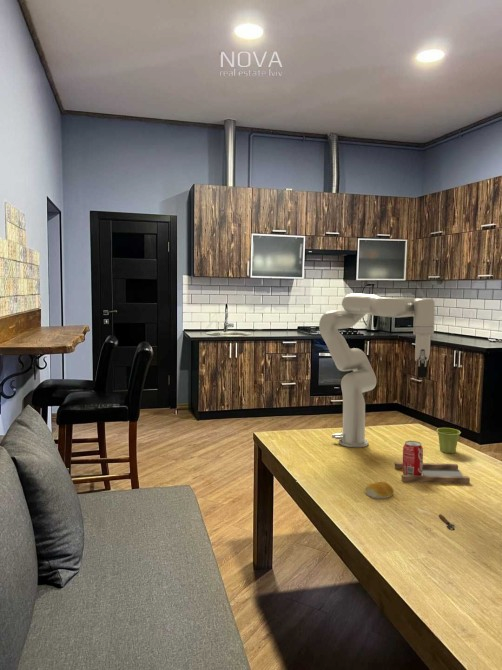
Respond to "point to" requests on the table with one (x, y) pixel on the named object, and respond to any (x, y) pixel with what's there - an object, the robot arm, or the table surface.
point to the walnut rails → (434, 478)
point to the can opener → (446, 522)
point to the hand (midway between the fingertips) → (422, 374)
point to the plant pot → (448, 439)
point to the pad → (441, 472)
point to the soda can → (412, 458)
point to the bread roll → (379, 490)
